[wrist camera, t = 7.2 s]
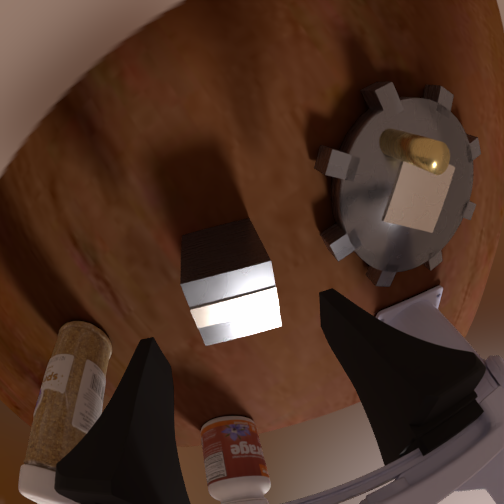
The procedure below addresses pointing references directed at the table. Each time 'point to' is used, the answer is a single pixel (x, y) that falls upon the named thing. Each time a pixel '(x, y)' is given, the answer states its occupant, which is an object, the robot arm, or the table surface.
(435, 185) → the sprocket
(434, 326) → the robot arm
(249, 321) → the grooved silver cube
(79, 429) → the sprinkles bottle
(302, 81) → the table surface
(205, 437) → the pill bottle
